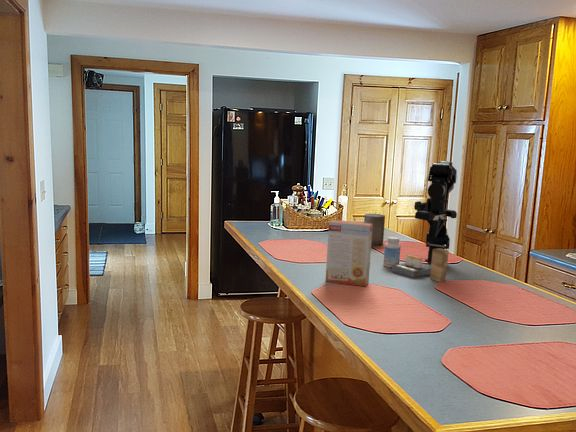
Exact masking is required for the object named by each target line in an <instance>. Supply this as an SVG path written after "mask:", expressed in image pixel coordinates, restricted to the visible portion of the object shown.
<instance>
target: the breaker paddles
mask: <svg viewBox="0 0 576 432" xmlns="http://www.w3.org/2000/svg"><path fill="white" fill-rule="evenodd" d="M404 259H405V261H404V263H405V264H406V265H409V266H412V265H413V264H414V266H413V267H416V268H422V264H423V261H424V260H423V258H422V257H418V256H415V255H410V254H406V256H405V258H404Z"/></svg>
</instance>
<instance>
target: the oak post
mask: <svg viewBox="0 0 576 432" xmlns="http://www.w3.org/2000/svg"><path fill="white" fill-rule="evenodd" d="M449 250H450V249H441V248H437V249H433V251H432V261H431V262H430V267H431V271H430V275H429V280H432V281H436V282H443V281H446V280H447V271H448V262H449V252H450V251H449Z"/></svg>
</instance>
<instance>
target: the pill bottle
mask: <svg viewBox="0 0 576 432" xmlns="http://www.w3.org/2000/svg"><path fill="white" fill-rule="evenodd" d="M386 241H387V242H386V243H385V244H384V251H383V252H384V253H383V262H382V263H383V265H384V266H385V267H386V268H392V265H397V264H400V259H401V258H400V257H401V244H400V243H399V242H400V238H399V237H396V236H387V240H386Z"/></svg>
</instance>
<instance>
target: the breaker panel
mask: <svg viewBox="0 0 576 432" xmlns="http://www.w3.org/2000/svg"><path fill="white" fill-rule="evenodd" d="M413 266H414V264H413V265H412V266H409V265H406V264H405V262H404V263H399V264H397V265H392V267H391V272H392V273H396V274H398V275H400V276H401V275H402V276H405V277H408V278H411V279H415V278H420V277H421V278H423V277H427V276H430V271H431V265H430V266H429V265H426V264H423V263H422V268H416V267H413Z"/></svg>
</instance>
